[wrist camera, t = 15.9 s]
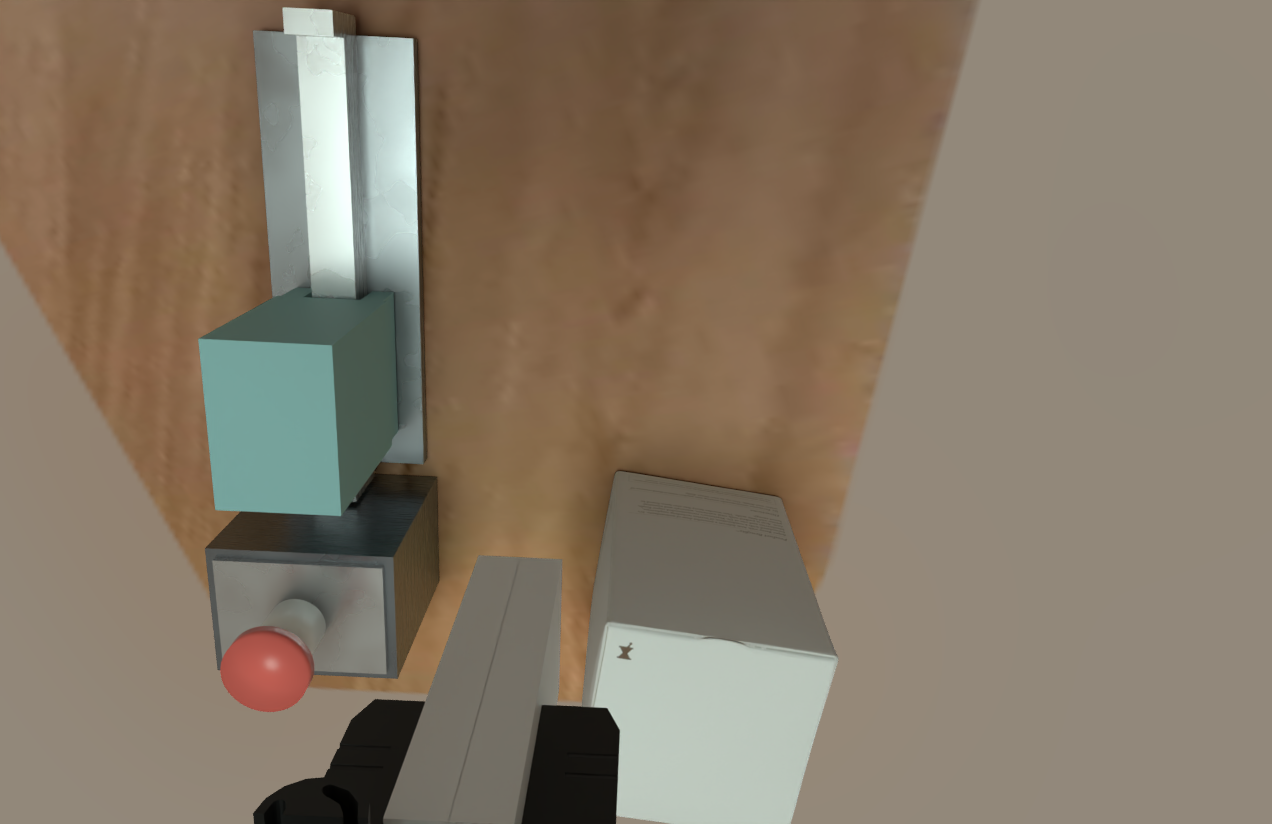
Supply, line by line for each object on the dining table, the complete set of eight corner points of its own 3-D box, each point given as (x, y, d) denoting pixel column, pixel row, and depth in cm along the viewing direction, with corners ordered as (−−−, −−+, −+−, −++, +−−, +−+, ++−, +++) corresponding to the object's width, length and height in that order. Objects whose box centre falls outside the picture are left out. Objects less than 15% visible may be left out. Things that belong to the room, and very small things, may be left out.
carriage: (292, 287, 45) (198, 338, 36) (397, 292, 45) (331, 345, 36) (301, 426, 48) (215, 509, 38) (402, 431, 48) (341, 516, 38)
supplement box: (586, 618, 52) (562, 816, 38) (614, 466, 49) (600, 618, 35) (750, 644, 52) (788, 850, 38) (787, 495, 50) (843, 658, 35)
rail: (258, 11, 42) (220, 4, 39) (416, 20, 43) (394, 13, 39) (290, 466, 49) (261, 497, 46) (427, 472, 49) (409, 504, 46)
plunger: (254, 586, 41) (216, 634, 37) (335, 590, 41) (304, 639, 37) (260, 656, 42) (224, 710, 38) (339, 659, 42) (310, 714, 38)
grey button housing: (281, 469, 49) (201, 551, 41) (437, 476, 49) (391, 560, 41) (289, 573, 51) (215, 673, 42) (439, 580, 51) (396, 682, 42)
